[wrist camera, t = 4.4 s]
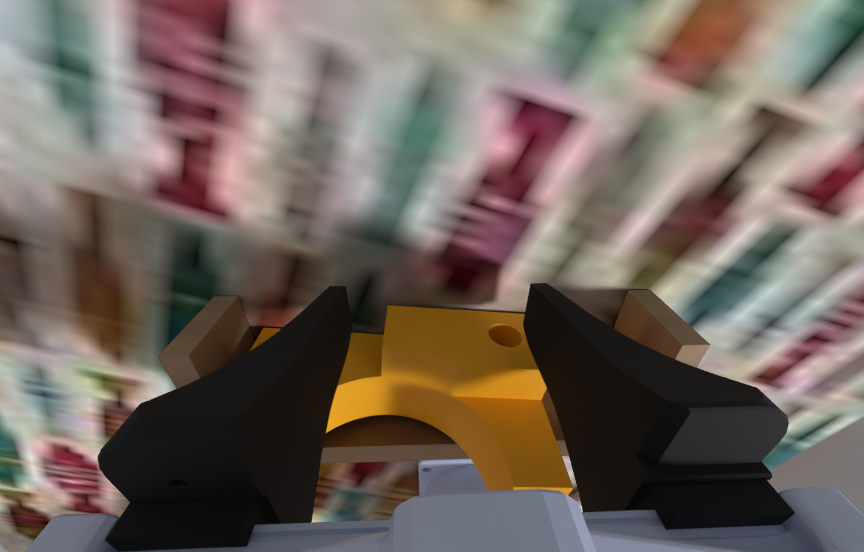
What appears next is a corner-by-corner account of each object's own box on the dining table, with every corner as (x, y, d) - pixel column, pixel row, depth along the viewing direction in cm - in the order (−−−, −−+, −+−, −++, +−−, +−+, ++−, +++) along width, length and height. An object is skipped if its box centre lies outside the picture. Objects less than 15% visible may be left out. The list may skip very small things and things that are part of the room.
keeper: (607, 390, 18) (644, 453, 15) (257, 399, 17) (223, 466, 14) (649, 289, 14) (710, 344, 11) (214, 296, 14) (157, 356, 11)
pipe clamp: (530, 314, 15) (593, 458, 9) (507, 377, 17) (548, 522, 12) (256, 296, 14) (150, 447, 8) (272, 366, 16) (198, 519, 11)
